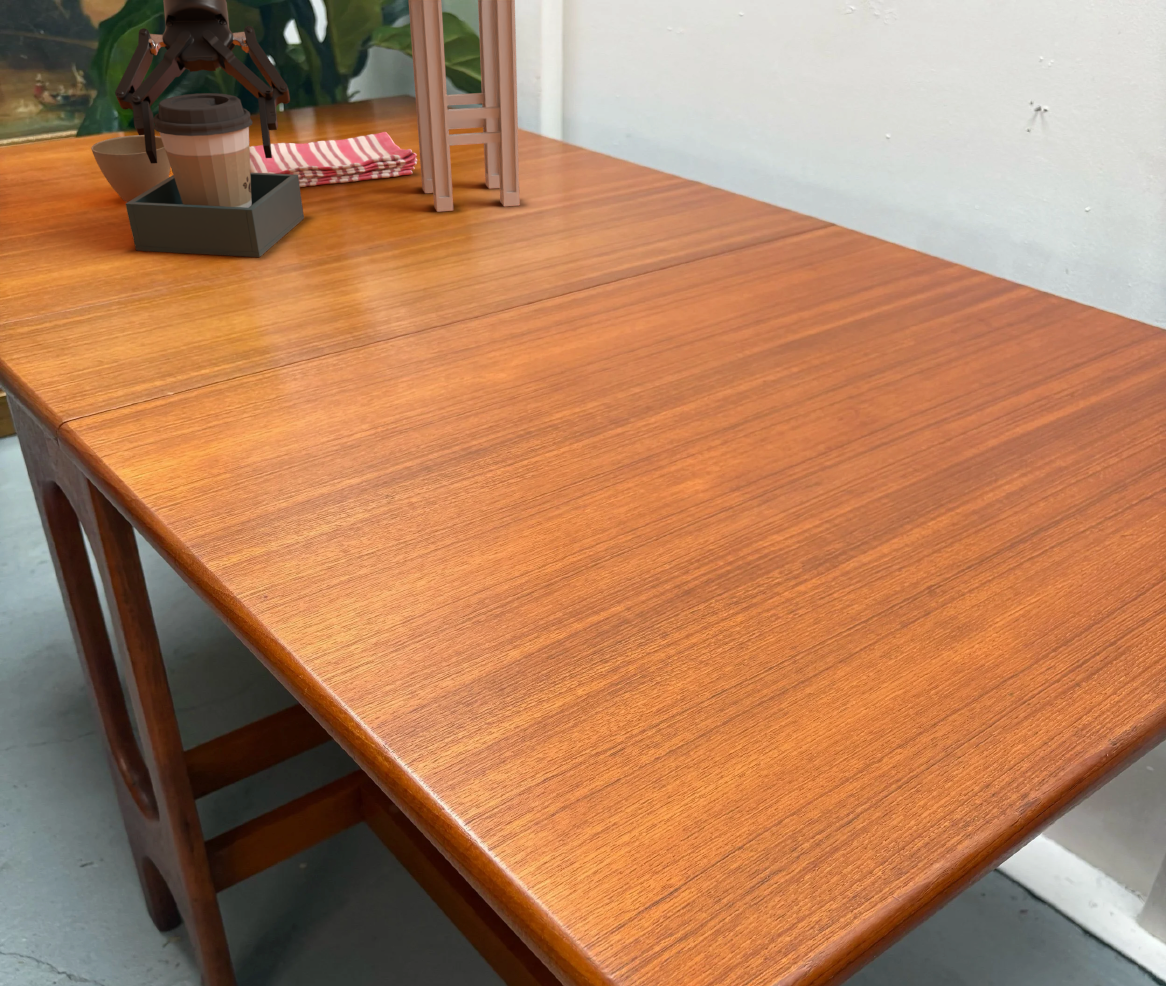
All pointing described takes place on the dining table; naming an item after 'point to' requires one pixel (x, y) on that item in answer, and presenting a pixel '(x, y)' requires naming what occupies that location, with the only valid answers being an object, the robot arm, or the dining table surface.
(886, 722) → the dining table surface
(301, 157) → the dish towel
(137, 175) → the beige bowl
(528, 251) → the dining table surface
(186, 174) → the coffee cup
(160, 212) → the bin
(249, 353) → the dining table surface
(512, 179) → the stool
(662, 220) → the dining table surface
